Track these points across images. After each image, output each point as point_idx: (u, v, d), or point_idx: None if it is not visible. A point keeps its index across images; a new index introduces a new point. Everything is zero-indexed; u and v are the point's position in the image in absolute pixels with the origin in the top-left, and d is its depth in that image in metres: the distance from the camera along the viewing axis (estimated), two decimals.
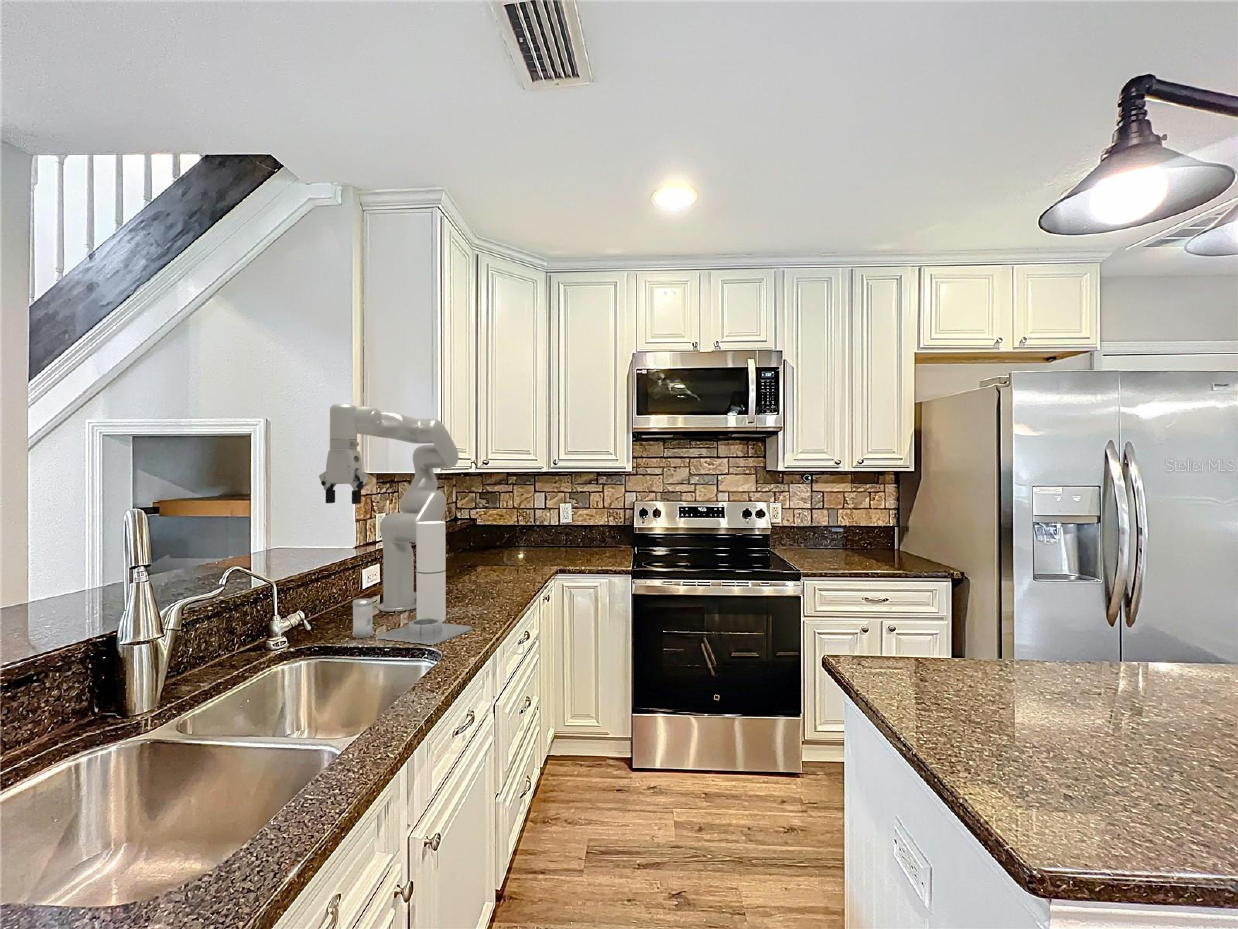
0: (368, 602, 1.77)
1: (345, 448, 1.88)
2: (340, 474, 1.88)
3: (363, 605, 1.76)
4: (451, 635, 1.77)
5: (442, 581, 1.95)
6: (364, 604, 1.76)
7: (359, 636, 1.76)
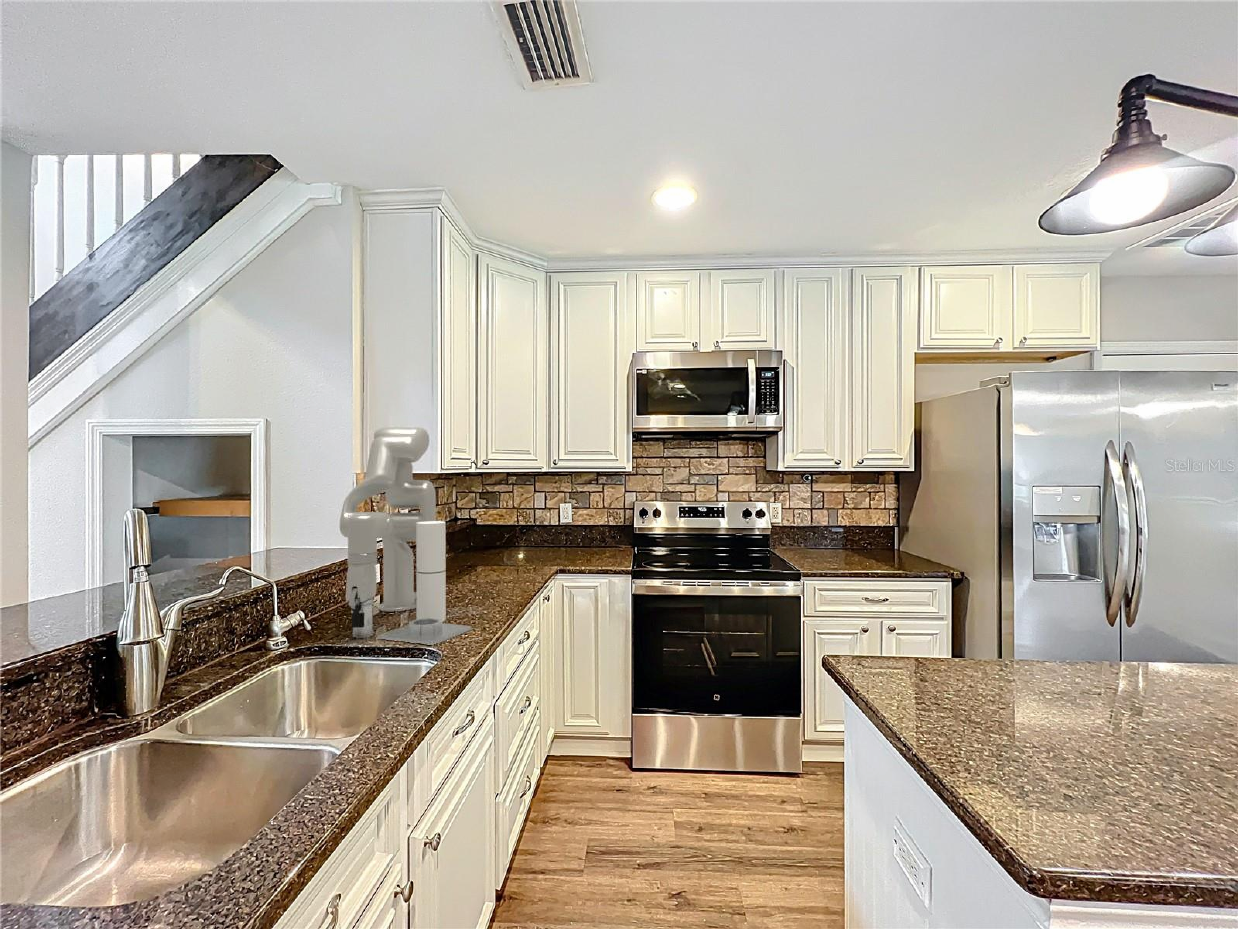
0: (368, 602, 1.77)
1: None
2: (372, 589, 1.79)
3: None
4: (451, 635, 1.77)
5: (442, 581, 1.95)
6: (364, 604, 1.76)
7: (359, 636, 1.76)
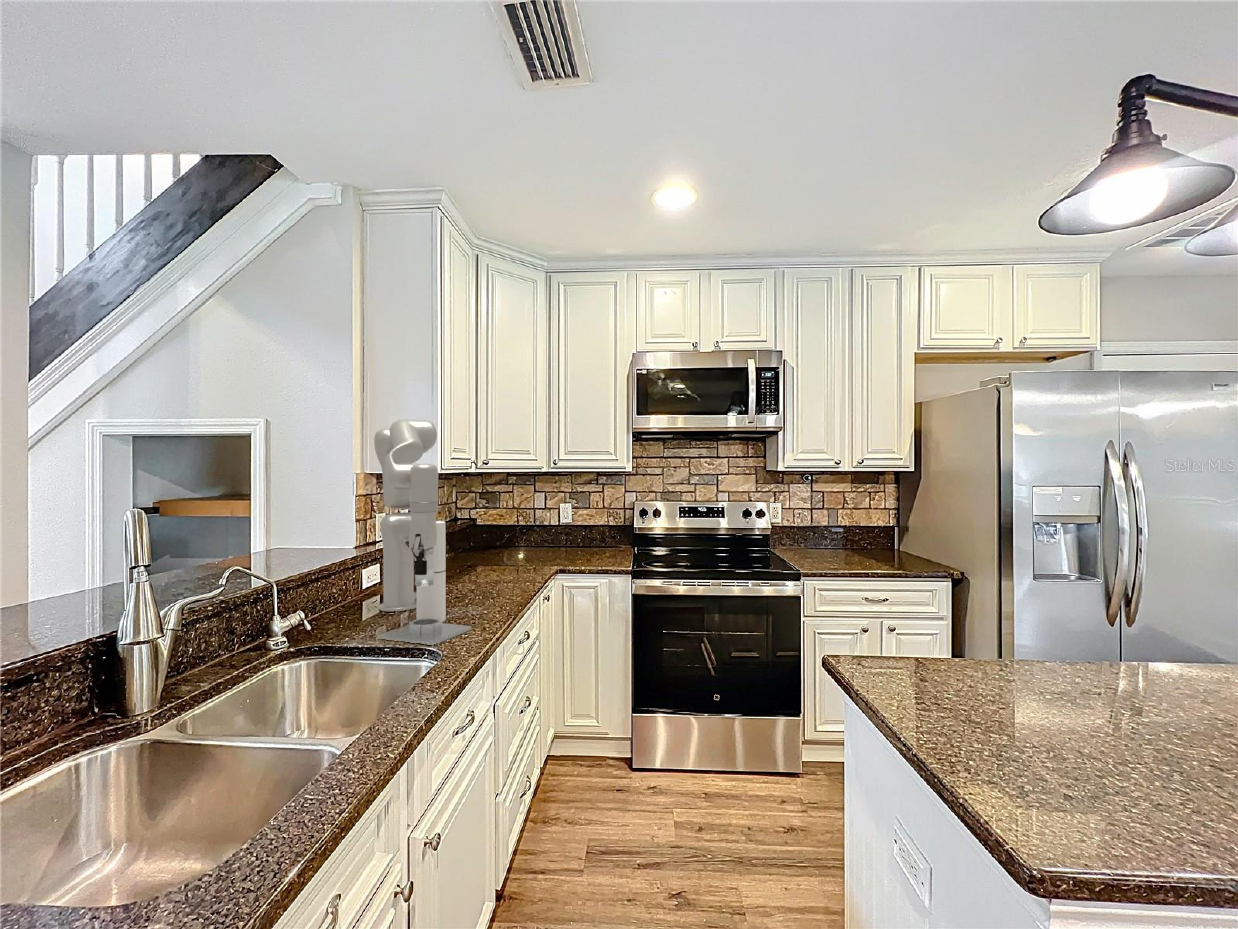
0: (430, 550, 1.79)
1: None
2: (433, 538, 1.81)
3: None
4: (451, 635, 1.77)
5: (442, 581, 1.95)
6: (426, 552, 1.78)
7: (421, 584, 1.78)
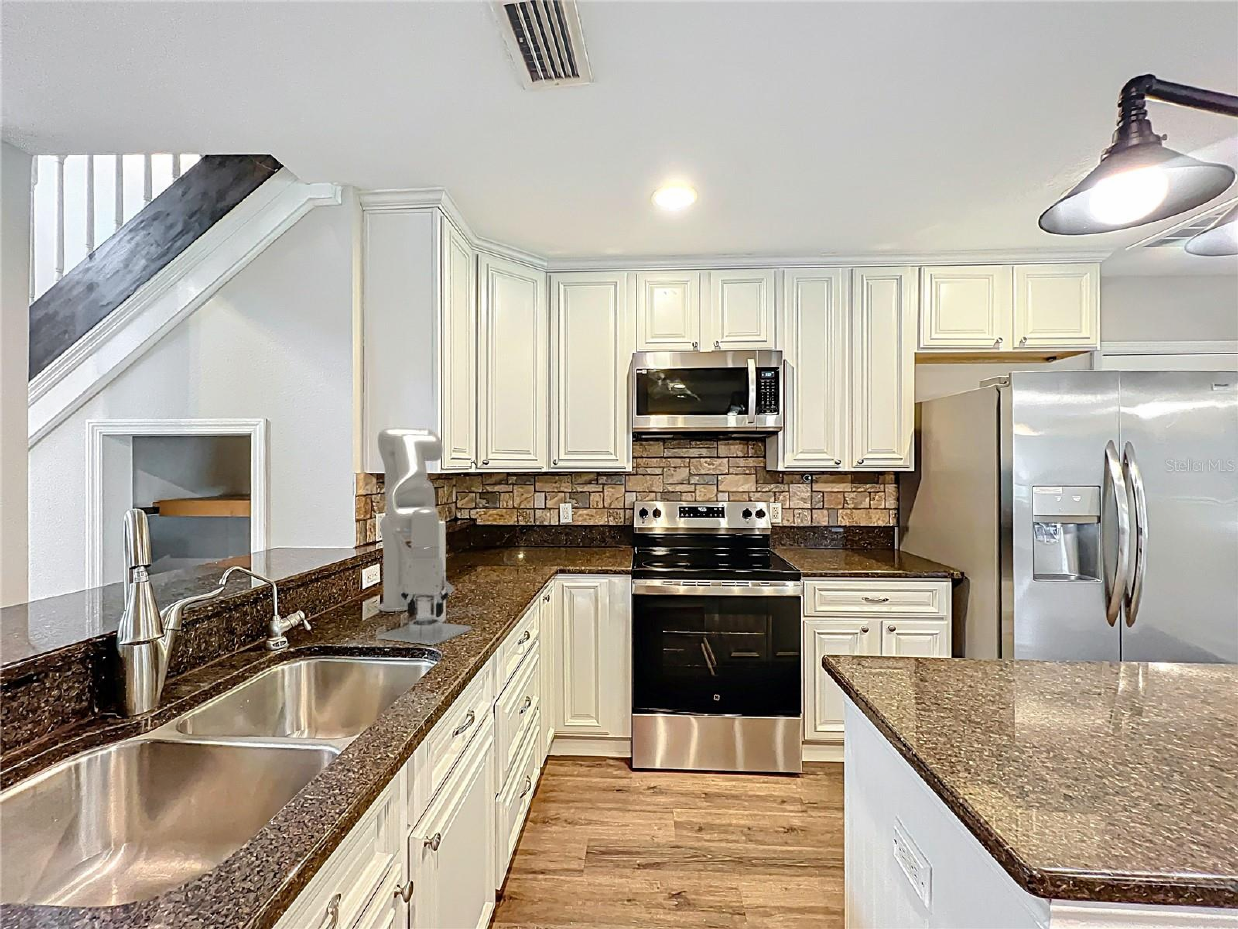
0: None
1: None
2: None
3: None
4: (451, 635, 1.77)
5: None
6: None
7: None
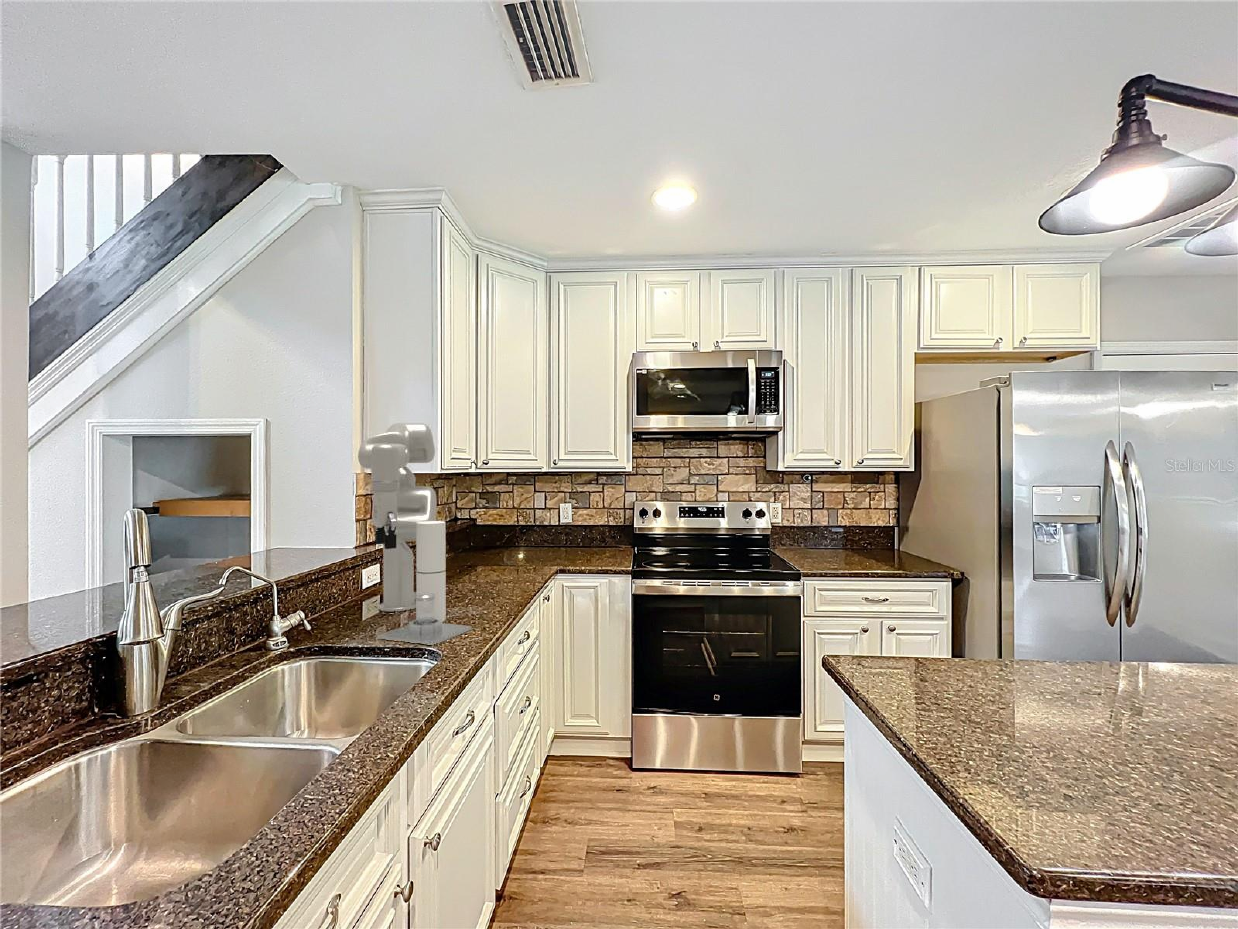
0: None
1: None
2: None
3: None
4: (451, 635, 1.77)
5: (442, 581, 1.95)
6: None
7: None
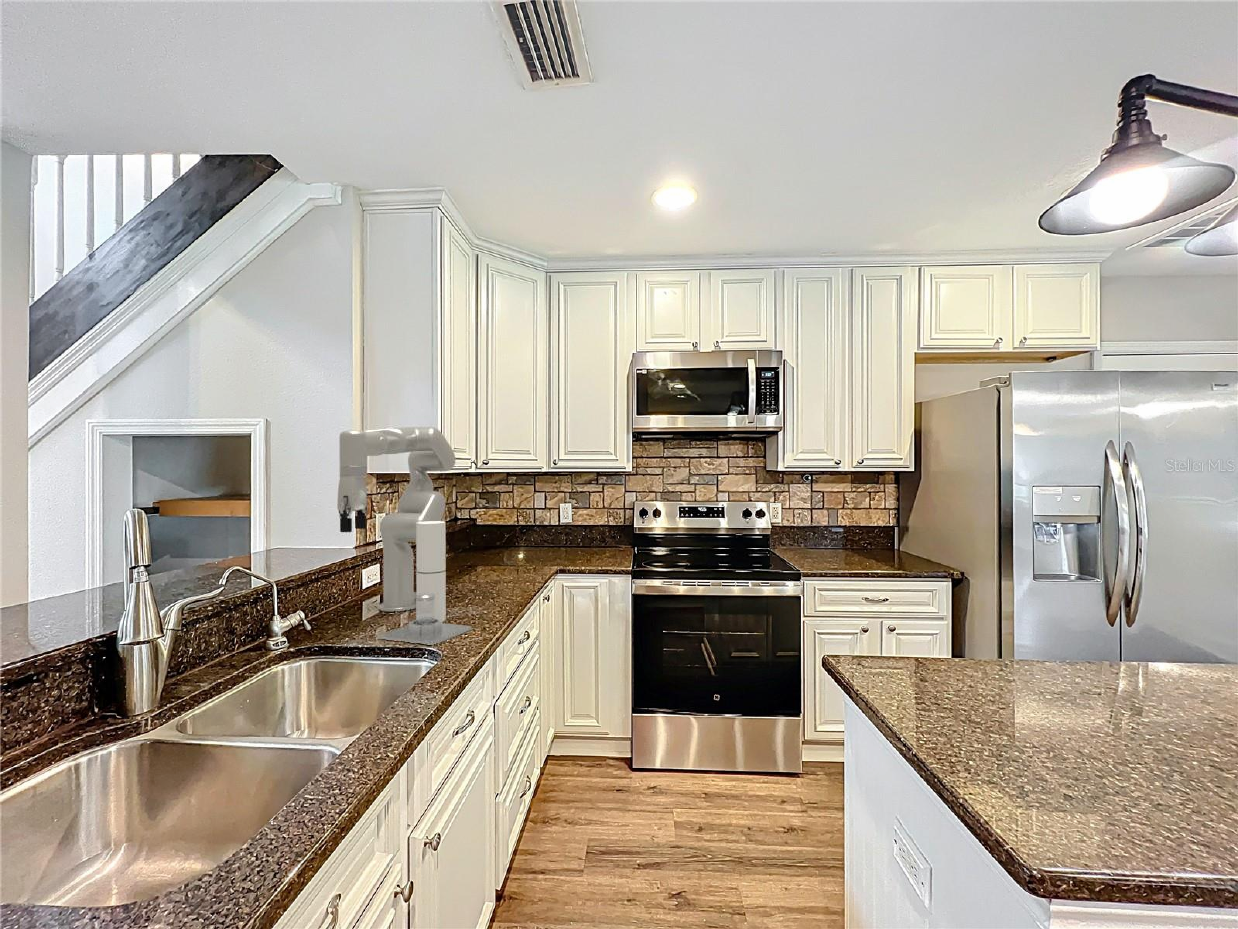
0: None
1: None
2: (362, 500, 1.91)
3: None
4: (451, 635, 1.77)
5: (442, 581, 1.95)
6: None
7: None
